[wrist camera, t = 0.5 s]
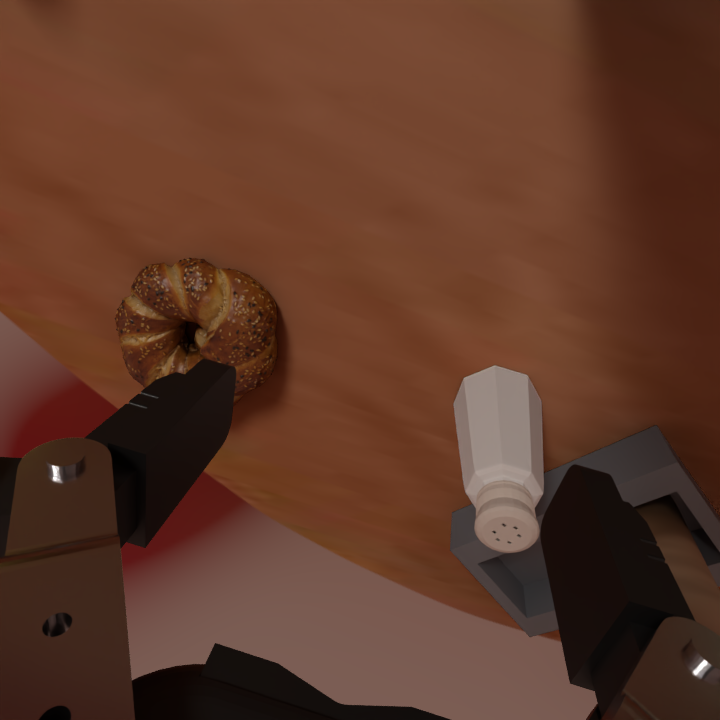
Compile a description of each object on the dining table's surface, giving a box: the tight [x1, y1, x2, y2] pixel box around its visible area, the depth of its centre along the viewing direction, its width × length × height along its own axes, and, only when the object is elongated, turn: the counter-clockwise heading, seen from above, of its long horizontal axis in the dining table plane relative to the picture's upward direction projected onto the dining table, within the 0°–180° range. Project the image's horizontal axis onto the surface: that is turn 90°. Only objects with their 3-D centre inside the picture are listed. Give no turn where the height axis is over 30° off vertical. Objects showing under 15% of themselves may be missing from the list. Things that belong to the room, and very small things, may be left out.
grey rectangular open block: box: [450, 425, 720, 637], centre depth 32 cm, size 15×10×4 cm, turn 130°
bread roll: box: [115, 258, 277, 406], centre depth 32 cm, size 12×11×4 cm
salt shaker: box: [454, 366, 544, 553], centre depth 26 cm, size 5×5×11 cm
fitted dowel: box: [634, 494, 720, 636], centre depth 28 cm, size 5×5×8 cm
